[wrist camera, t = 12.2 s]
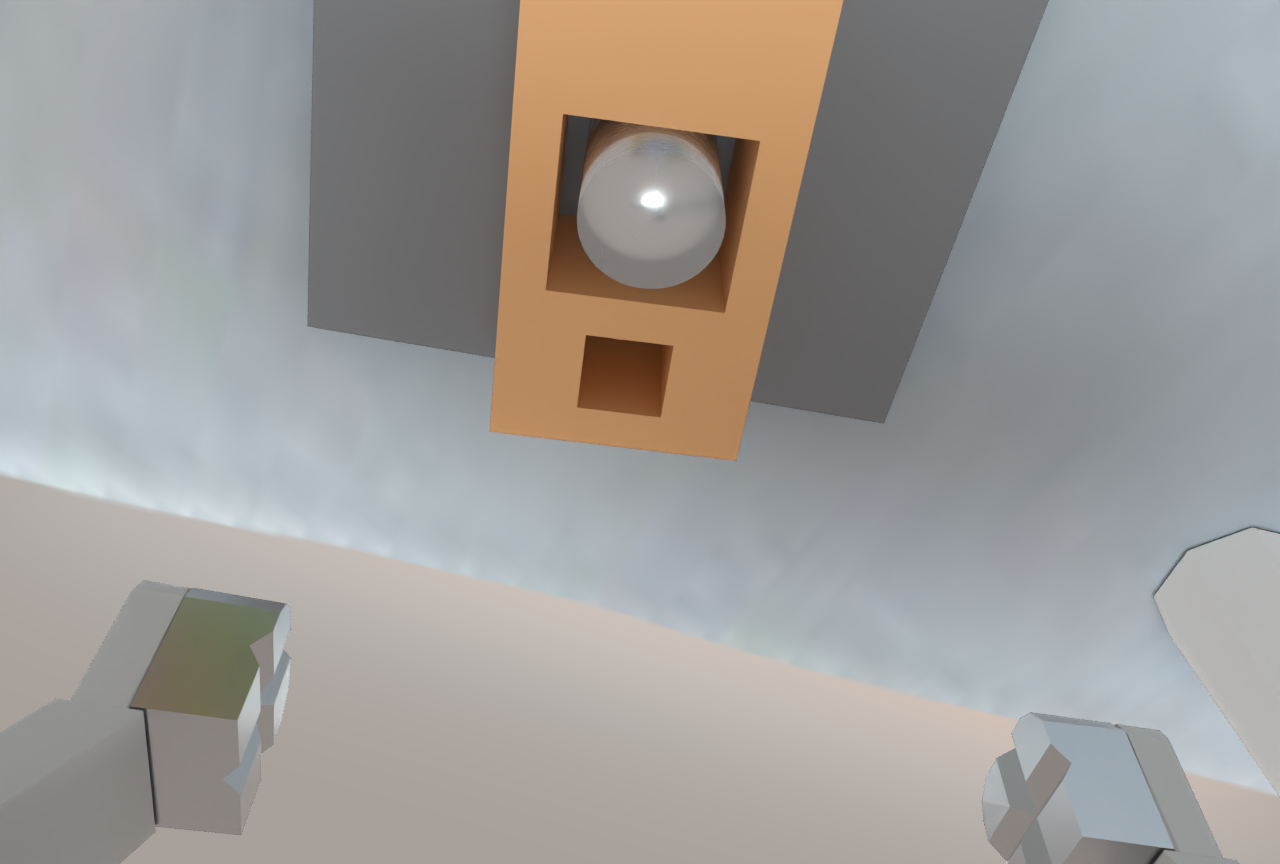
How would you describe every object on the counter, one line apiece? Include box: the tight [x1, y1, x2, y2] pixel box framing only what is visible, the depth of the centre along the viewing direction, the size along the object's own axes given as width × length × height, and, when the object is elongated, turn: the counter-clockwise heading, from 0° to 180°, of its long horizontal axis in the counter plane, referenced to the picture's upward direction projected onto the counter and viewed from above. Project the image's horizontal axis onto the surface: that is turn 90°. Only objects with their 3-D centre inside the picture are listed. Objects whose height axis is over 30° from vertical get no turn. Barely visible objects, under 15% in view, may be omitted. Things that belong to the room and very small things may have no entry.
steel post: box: [577, 118, 726, 289], centre depth 25 cm, size 3×3×6 cm
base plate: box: [307, 0, 1049, 423], centre depth 27 cm, size 16×14×2 cm
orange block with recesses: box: [490, 0, 843, 461], centre depth 25 cm, size 12×6×4 cm, turn 172°
